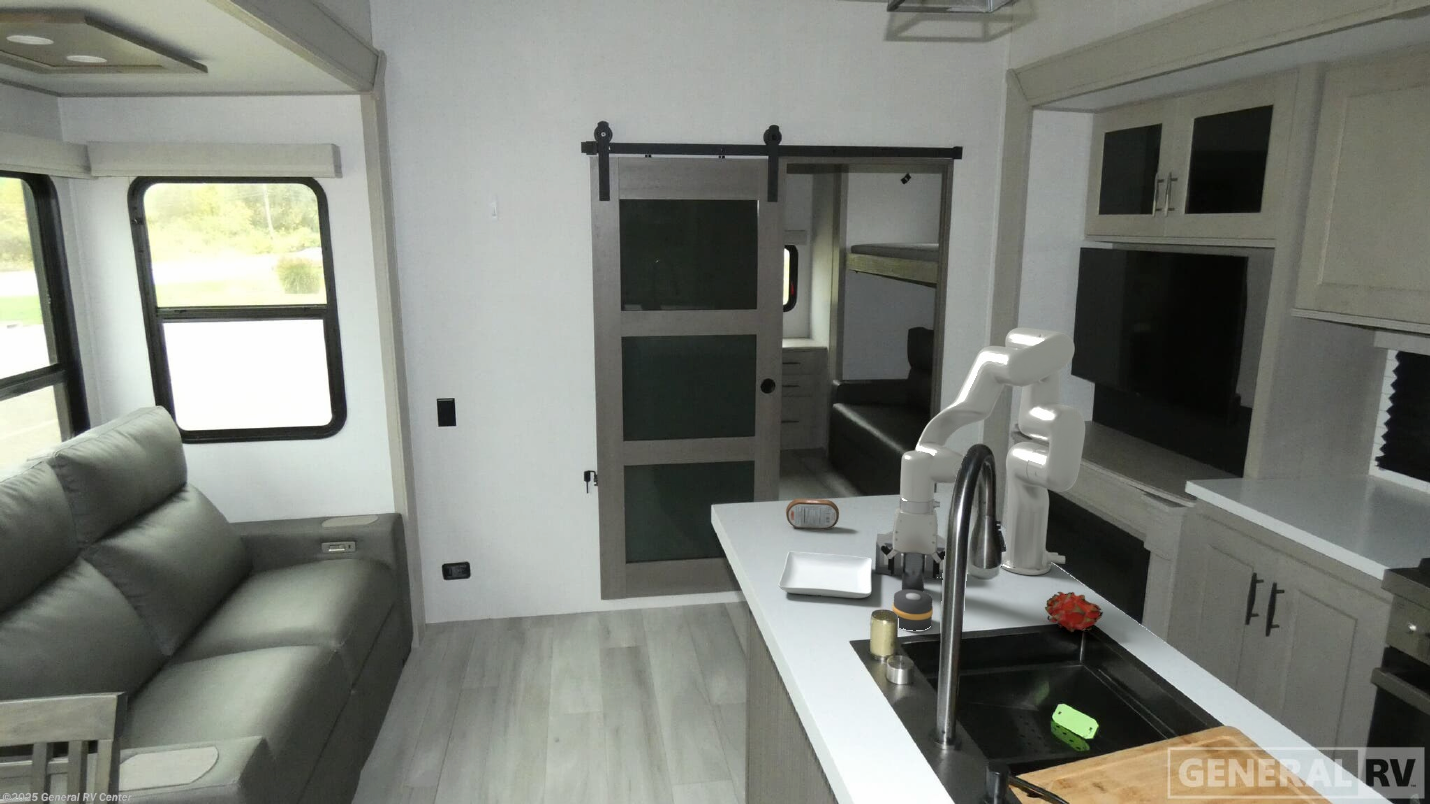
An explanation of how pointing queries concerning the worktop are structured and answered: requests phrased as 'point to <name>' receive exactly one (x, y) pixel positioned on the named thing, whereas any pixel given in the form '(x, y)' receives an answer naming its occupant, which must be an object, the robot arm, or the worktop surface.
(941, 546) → the breaker panel
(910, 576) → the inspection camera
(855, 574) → the salad plate
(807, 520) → the tin
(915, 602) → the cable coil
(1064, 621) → the dragon fruit
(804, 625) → the worktop surface
